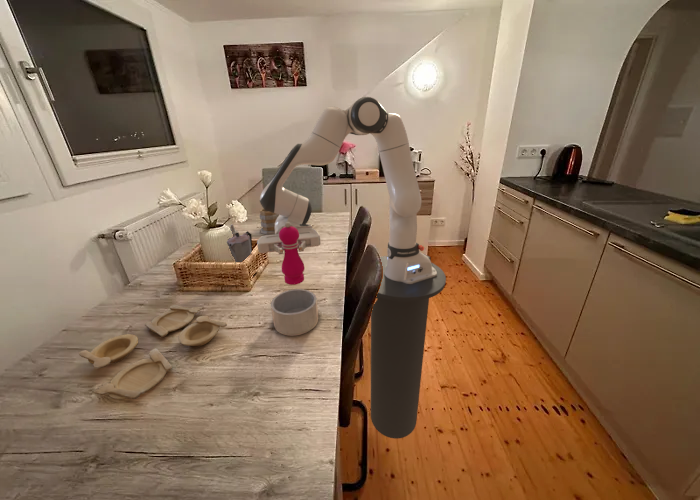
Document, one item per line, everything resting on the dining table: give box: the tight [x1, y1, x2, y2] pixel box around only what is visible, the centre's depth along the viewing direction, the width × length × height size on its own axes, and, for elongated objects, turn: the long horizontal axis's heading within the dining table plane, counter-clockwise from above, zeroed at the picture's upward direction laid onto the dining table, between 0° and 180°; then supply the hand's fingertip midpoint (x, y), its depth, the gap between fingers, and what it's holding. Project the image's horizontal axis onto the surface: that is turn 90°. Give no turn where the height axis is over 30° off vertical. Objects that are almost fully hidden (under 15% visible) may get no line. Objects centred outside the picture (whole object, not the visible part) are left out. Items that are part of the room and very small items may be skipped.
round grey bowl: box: [270, 288, 319, 337], centre depth 93 cm, size 15×15×8 cm
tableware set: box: [78, 304, 228, 400], centre depth 84 cm, size 35×29×4 cm
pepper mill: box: [279, 222, 305, 286], centre depth 88 cm, size 7×7×20 cm
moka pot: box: [226, 230, 253, 263], centre depth 122 cm, size 10×15×20 cm, turn 170°
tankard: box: [259, 208, 279, 235], centre depth 178 cm, size 20×13×15 cm, turn 13°
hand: (291, 250), depth 86 cm, fingers closed on pepper mill, 5 cm apart
